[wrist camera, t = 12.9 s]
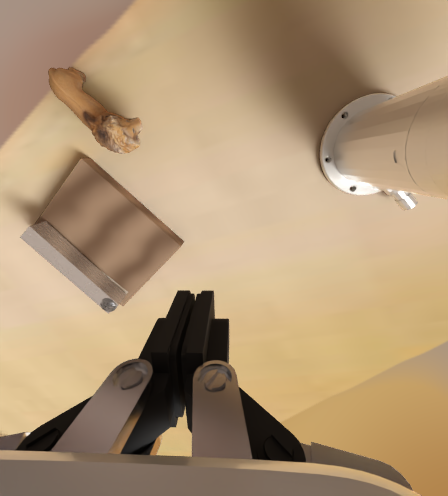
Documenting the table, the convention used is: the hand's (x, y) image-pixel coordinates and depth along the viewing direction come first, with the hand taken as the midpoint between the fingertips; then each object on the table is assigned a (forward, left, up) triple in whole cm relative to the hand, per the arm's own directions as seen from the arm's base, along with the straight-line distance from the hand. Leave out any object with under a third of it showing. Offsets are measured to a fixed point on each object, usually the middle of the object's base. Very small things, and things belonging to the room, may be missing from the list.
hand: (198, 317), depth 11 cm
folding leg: (+10, +21, -24) cm, 34 cm away
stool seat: (+10, +16, -27) cm, 33 cm away
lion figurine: (+20, +1, -27) cm, 34 cm away
